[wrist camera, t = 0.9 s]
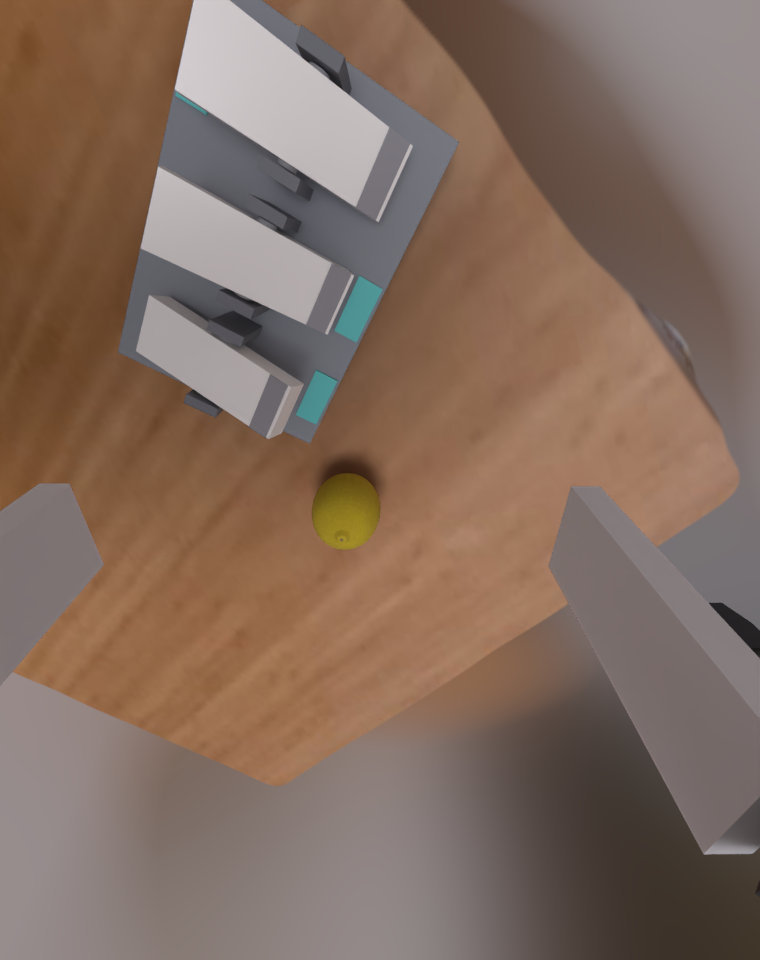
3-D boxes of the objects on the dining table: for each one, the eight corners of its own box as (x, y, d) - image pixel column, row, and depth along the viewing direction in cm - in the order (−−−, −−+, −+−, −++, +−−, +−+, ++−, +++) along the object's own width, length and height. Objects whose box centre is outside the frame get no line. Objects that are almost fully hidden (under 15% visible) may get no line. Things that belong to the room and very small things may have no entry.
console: (148, 340, 31) (78, 367, 24) (231, 3, 22) (160, -110, 15) (317, 423, 34) (299, 468, 27) (449, 157, 25) (473, 121, 18)
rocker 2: (145, 247, 21) (139, 252, 20) (164, 161, 19) (158, 161, 18) (322, 329, 26) (326, 338, 25) (350, 266, 24) (356, 272, 23)
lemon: (314, 461, 36) (296, 512, 29) (376, 454, 35) (374, 504, 28) (325, 513, 38) (312, 571, 31) (384, 507, 38) (383, 565, 31)
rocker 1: (178, 99, 18) (173, 94, 17) (203, -17, 16) (200, -33, 15) (369, 222, 23) (377, 226, 22) (404, 142, 21) (415, 141, 20)
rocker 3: (155, 352, 27) (133, 354, 25) (170, 293, 25) (148, 291, 23) (280, 435, 26) (266, 442, 25) (305, 381, 24) (291, 384, 23)
